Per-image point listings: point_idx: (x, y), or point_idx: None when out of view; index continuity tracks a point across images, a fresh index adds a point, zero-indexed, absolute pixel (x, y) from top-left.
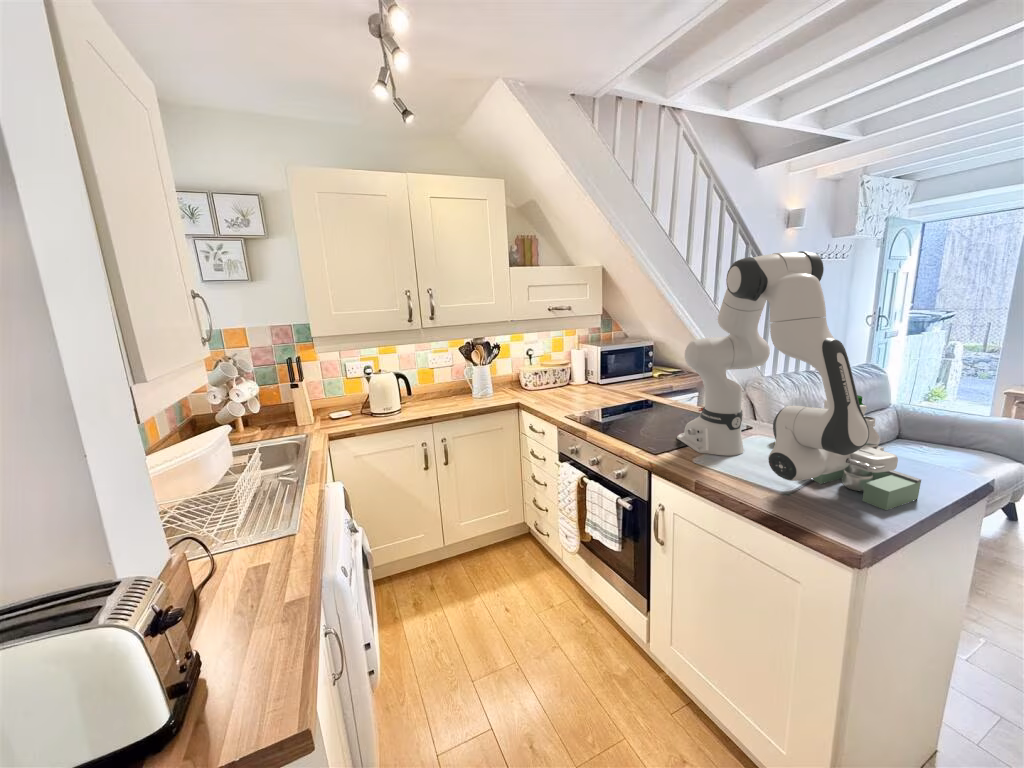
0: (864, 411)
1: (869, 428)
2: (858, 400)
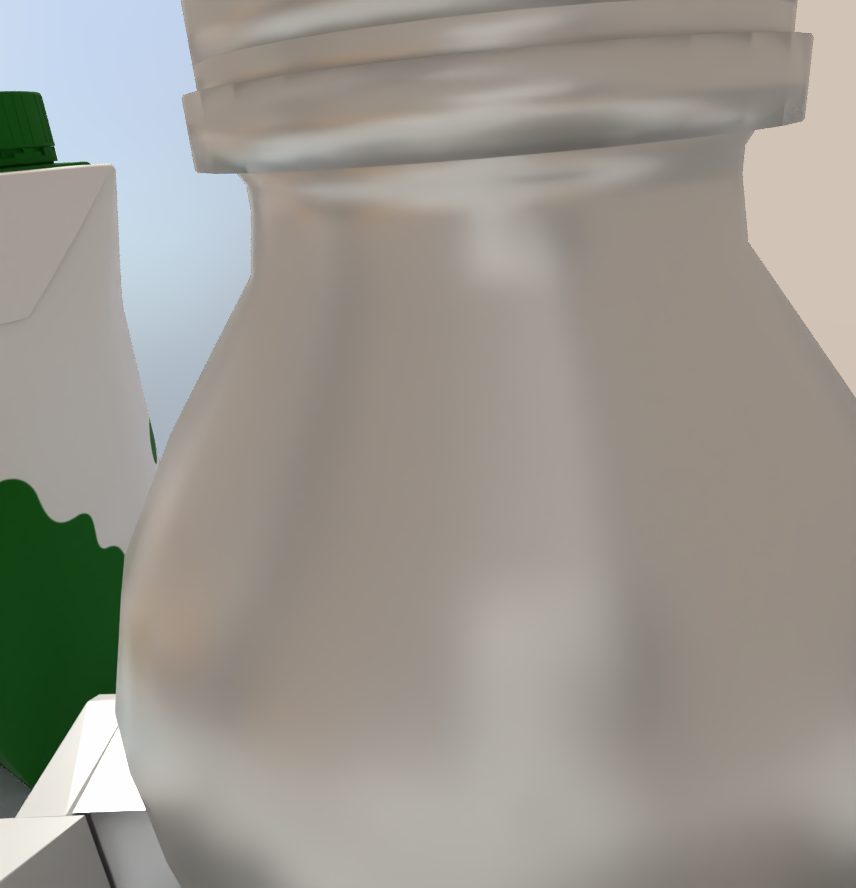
0: (113, 222)
1: (740, 217)
2: (20, 121)
